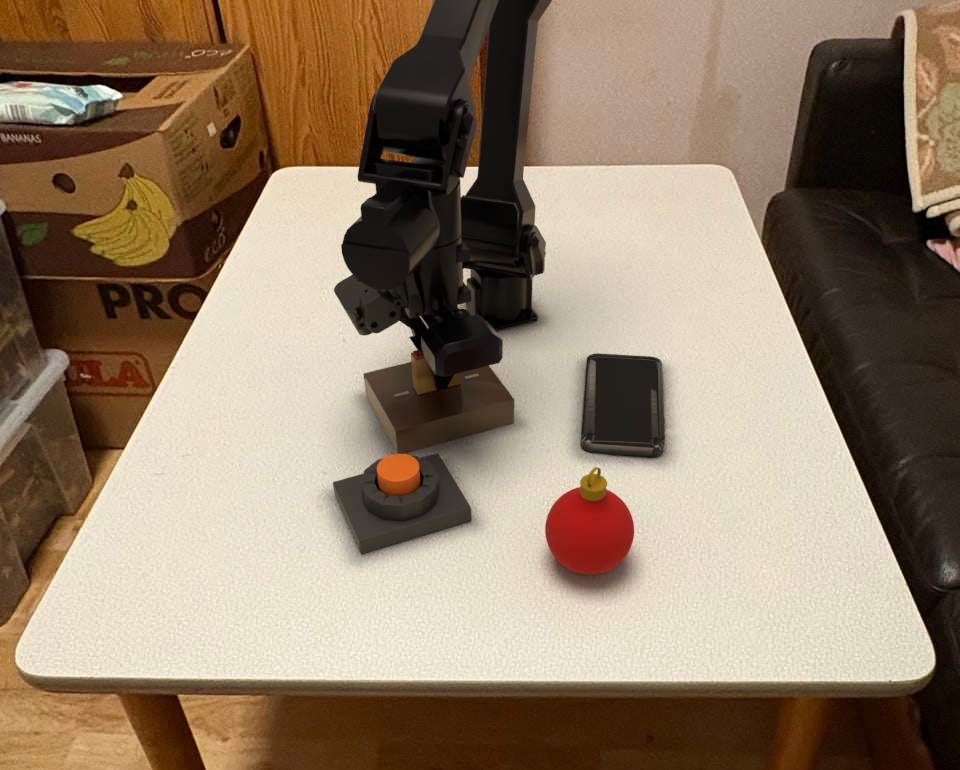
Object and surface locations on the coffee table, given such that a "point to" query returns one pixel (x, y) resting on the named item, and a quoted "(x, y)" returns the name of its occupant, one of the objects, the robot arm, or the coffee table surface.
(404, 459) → the bell button
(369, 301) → the robot arm
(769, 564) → the coffee table surface
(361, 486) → the block
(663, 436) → the phone
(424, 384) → the lock knob
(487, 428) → the plate
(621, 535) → the christmas ornament
